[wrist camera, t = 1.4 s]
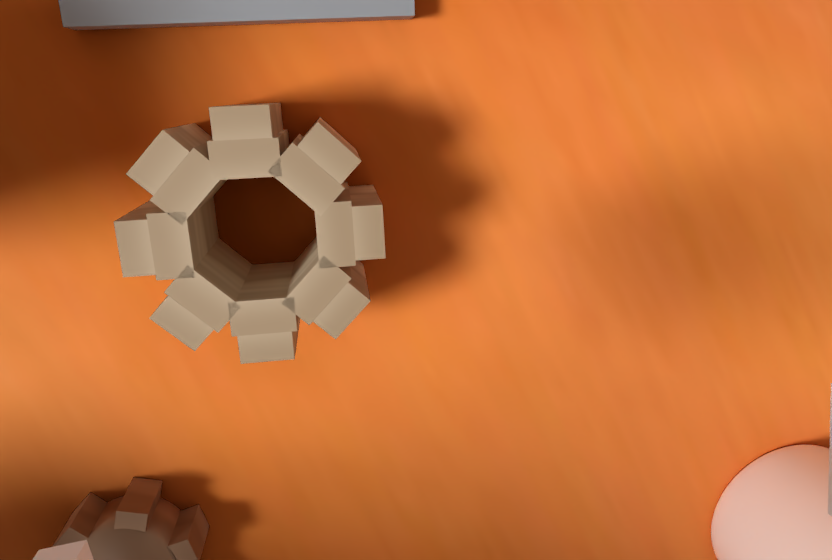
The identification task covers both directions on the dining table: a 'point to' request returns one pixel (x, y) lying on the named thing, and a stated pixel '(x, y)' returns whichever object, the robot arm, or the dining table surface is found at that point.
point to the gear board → (224, 12)
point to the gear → (137, 526)
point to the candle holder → (776, 508)
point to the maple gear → (221, 265)
